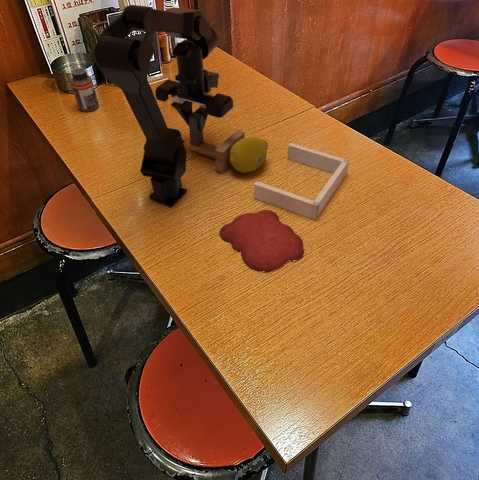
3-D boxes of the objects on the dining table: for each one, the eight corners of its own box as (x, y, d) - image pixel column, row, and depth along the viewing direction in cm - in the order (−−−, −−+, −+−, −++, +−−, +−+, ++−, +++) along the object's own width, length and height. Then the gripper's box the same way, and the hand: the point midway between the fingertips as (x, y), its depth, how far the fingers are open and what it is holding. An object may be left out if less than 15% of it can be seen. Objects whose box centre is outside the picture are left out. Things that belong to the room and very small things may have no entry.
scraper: (222, 172, 110) (222, 140, 103) (182, 156, 114) (178, 123, 107) (243, 152, 116) (244, 119, 109) (204, 136, 120) (203, 104, 113)
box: (315, 219, 98) (317, 206, 95) (254, 197, 104) (254, 184, 101) (346, 174, 109) (348, 160, 106) (289, 156, 115) (290, 142, 112)
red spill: (212, 230, 97) (212, 223, 96) (265, 206, 102) (265, 199, 101) (259, 283, 87) (259, 276, 86) (315, 252, 92) (316, 246, 91)
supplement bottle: (77, 105, 135) (65, 68, 127) (97, 100, 137) (87, 64, 129) (81, 114, 131) (69, 77, 123) (101, 109, 133) (91, 72, 125)
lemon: (236, 183, 107) (236, 155, 102) (221, 165, 112) (221, 137, 106) (275, 170, 111) (277, 143, 105) (259, 153, 116) (261, 126, 110)
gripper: (244, 63, 103) (245, 123, 114) (177, 46, 109) (184, 105, 121) (218, 84, 96) (222, 145, 107) (148, 65, 103) (159, 125, 114)
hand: (196, 129), depth 112 cm, fingers closed on scraper, 2 cm apart
